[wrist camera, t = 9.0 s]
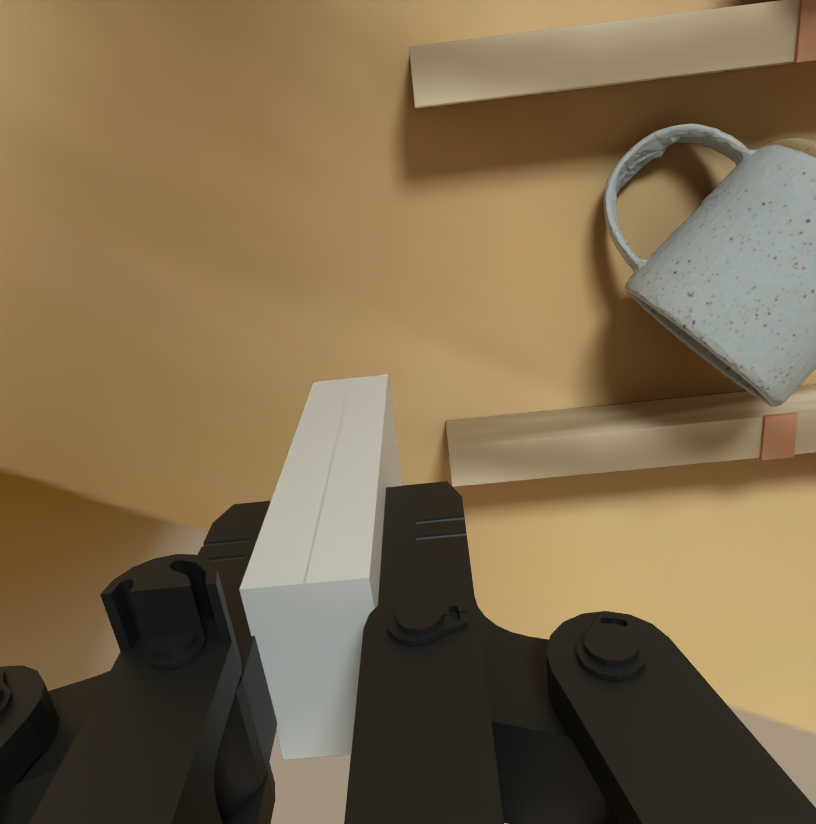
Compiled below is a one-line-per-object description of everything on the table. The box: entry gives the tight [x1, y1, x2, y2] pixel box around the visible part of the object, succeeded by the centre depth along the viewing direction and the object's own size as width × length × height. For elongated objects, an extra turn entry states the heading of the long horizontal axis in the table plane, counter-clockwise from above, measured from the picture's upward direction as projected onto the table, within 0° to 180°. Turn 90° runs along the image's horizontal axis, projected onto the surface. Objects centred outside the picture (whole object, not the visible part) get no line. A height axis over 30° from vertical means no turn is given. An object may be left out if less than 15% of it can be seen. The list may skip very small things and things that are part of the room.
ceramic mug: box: [604, 124, 816, 407], centre depth 27 cm, size 11×8×8 cm
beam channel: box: [409, 0, 816, 487], centre depth 28 cm, size 22×23×5 cm
